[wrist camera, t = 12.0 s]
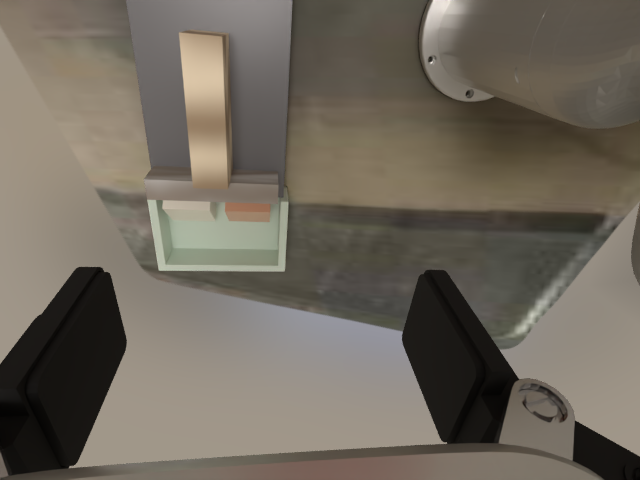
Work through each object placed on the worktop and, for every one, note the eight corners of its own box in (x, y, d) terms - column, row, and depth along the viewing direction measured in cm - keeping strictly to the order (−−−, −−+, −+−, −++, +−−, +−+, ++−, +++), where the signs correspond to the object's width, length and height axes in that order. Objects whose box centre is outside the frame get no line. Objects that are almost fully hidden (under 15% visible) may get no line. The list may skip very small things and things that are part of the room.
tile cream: (163, 189, 37) (162, 208, 36) (210, 191, 37) (209, 210, 37) (174, 202, 41) (173, 220, 40) (216, 204, 42) (215, 221, 41)
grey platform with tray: (106, -176, 26) (81, -204, 23) (303, -143, 28) (308, -164, 25) (167, 250, 45) (158, 270, 41) (283, 252, 47) (284, 271, 43)
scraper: (133, 23, 30) (111, 25, 26) (282, 38, 32) (284, 42, 27) (157, 184, 37) (142, 206, 33) (277, 189, 39) (278, 211, 35)
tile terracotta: (225, 191, 37) (224, 211, 37) (270, 193, 38) (270, 212, 38) (229, 203, 42) (229, 221, 41) (269, 205, 42) (269, 222, 42)
